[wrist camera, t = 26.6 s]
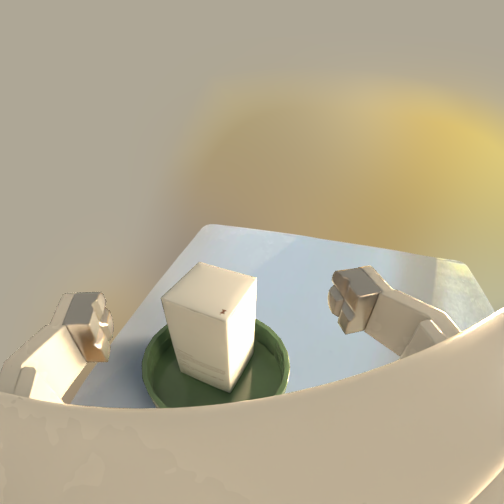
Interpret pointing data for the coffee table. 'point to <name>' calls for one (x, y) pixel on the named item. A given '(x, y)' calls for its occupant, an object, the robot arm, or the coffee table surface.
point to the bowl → (201, 394)
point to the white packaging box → (212, 323)
